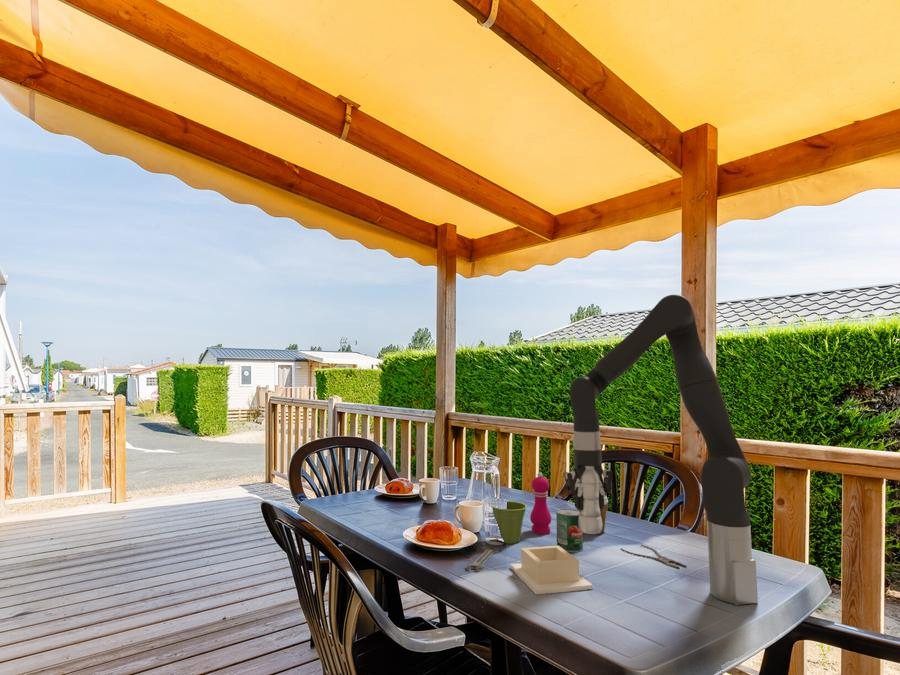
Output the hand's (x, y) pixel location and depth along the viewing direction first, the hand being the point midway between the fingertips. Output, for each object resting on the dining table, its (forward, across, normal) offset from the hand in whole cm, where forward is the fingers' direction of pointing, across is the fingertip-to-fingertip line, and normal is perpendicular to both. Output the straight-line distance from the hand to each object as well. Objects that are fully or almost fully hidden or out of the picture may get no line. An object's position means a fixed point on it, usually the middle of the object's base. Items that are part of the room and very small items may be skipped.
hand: (589, 509), depth 138 cm
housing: (+16, -14, -3) cm, 22 cm away
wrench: (+16, -27, +14) cm, 34 cm away
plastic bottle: (+7, 0, 0) cm, 7 cm away
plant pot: (+16, -14, +29) cm, 35 cm away
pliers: (+17, +24, +5) cm, 30 cm away
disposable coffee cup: (+16, +18, +31) cm, 39 cm away
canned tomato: (+16, +2, +18) cm, 24 cm away
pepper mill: (+16, 0, +36) cm, 39 cm away
